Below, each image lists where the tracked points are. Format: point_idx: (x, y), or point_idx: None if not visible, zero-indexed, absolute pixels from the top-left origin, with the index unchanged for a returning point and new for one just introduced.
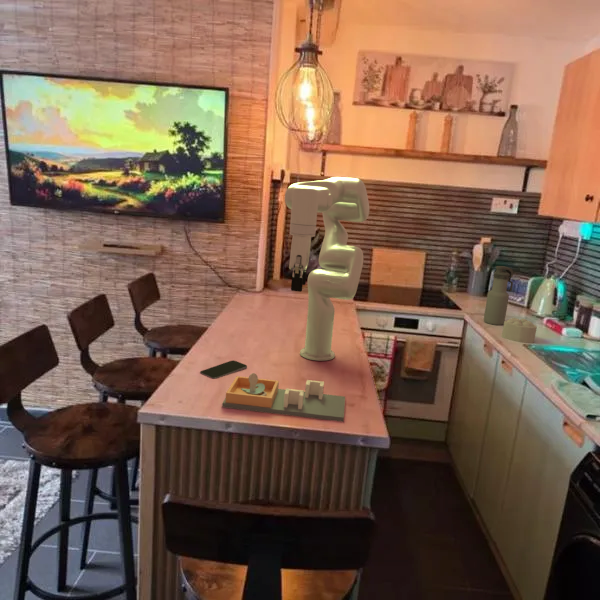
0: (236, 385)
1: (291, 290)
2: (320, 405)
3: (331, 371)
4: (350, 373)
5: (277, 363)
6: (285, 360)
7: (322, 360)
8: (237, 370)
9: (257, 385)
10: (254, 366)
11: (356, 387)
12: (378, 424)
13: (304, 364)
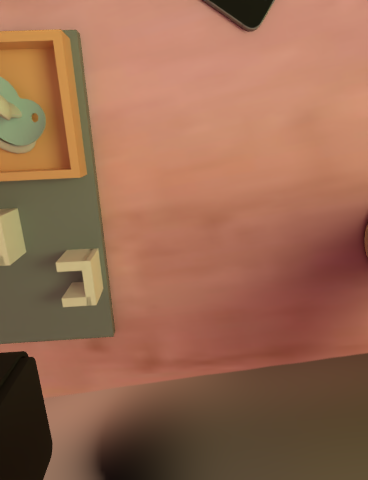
0: (30, 46)
1: (4, 354)
2: (36, 291)
3: (291, 283)
4: (290, 328)
5: (318, 124)
6: (350, 144)
7: (366, 253)
8: (211, 4)
9: (39, 117)
10: (273, 54)
11: (201, 348)
12: None
13: (328, 207)
